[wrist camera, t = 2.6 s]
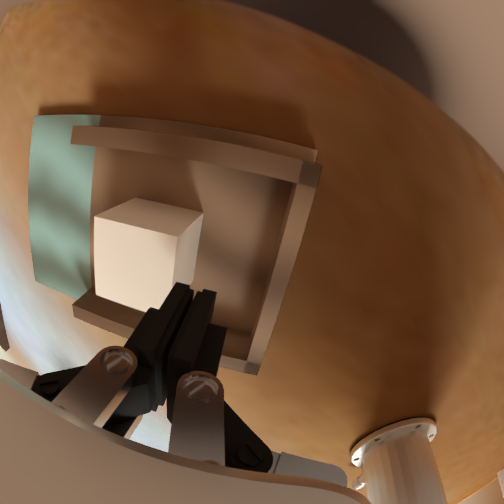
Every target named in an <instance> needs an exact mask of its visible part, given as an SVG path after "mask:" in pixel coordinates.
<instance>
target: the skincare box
mask: <svg viewBox="0 0 504 504" xmlns="http://www.w3.org/2000/svg"><path fill="white" fill-rule="evenodd" d="M497 476H498V479H499V483H500V486H501V490H502V494H503V498H504V468H503V469H501V470H500V471H499V472H498V473H497Z"/></svg>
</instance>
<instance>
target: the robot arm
mask: <svg viewBox="0 0 504 504" xmlns="http://www.w3.org/2000/svg"><path fill="white" fill-rule="evenodd" d="M216 295H217V292H215V291H211V290H207V289H203V291H202V292H200V291H197V293H196V295H195V297H194V299H193V296H194V290H193V289H190V285H187V284H184V283H180V282H176V283H175V285H174V286H173V288H172V289H171V291H170V292H169V294H168V296H167V297H166V299H165V300H164V302H163V304H162V305H161V307H160V308H159V309H156V308H152V307H150V308H149V309H148V310H147V312H146V313H145V315H144V316H143V318H142V319H141V321H140V322H139V324H138V325H137V327H136V328H135V330H134V331H133V333H132V335H131V336H130V338H129V339H128V341H127V342H126V344H125V345H124V347H122V346H109V347H106V348H104V349H102V350H101V351H100V352H99V353H98V354H97V355H96V356H95V357H94V358H93V359H92V360H91V361H90V362H89V363H88V364H87V365H85V366H80V367H76V368H71V369H66V370H62V371H57V372H51V373H47V374H44V375H41V376H40V375H39V374H38V372H36V371H33V370H30V369H27V368H24V367H21V366H18V365H16V364H13V363H10V362H8V361H5V360H2V359H0V504H447V500H446V496H445V492H444V488H443V485H442V481H441V477H440V474H439V470H438V467H437V464H436V460H435V457H434V454H433V451H432V448H431V445H430V442H431V441H432V439H433V438H434V437H435V434H436V432H437V427H436V424H435V422H434V421H433V420H431V419H429V418H412V419H407V420H403V421H400V422H397V423H393V424H391V425H388V426H386V427H383V428H381V429H379V430H377V431H375V432H373V433H371V434H370V435H368V436H366V437H365V438H363V439H362V440H361V441H359V442H358V443H357V444H356V445H355V446H354V447H353V449H352V450H351V453H350V458H351V462H352V463H353V464H354V465H356V466H358V467H362V473H361V476H360V477H358V478H357V479H355V480H354V481H353V482H352V487H353V488H354V489H360V488H362V487H363V486H365V485H366V488H367V496H368V499H367V498H366V497H365V496H363V495H362V494H360V493H358V492H356V491H354V490H352V489H350V488H347V476H346V474H345V472H344V471H343V470H342V469H341V468H340V467H338V466H335V465H332V464H327V463H323V462H319V461H314V460H310V459H306V458H303V457H299V456H295V455H292V454H288V453H285V452H281V454H280V453H276V452H273V451H271V450H270V449H269V448H268V446H267V445H266V444H265V443H264V442H263V441H262V440H261V439H260V438H259V437H258V436H257V435H256V434H255V433H254V432H253V431H252V430H251V429H250V428H249V427H248V426H247V425H246V424H245V423H244V422H243V421H242V420H241V418H240V417H239V416H238V415H237V414H236V413H235V412H234V411H233V410H232V409H231V407H230V406H229V405H228V404H227V403H226V402H225V401H224V389H223V385H222V383H221V382H220V380H219V379H218V378H216V376H217V372H218V367H219V363H220V359H221V355H222V350H223V346H224V342H225V337H226V333H227V328H228V327H223V326H219V325H215V324H211V322H212V317H213V311H214V306H215V300H216ZM166 398H167V418H168V420H169V421H170V422H171V424H172V425H171V433H170V442H169V451H168V453H167V452H164V451H161V450H158V449H155V448H151V447H149V446H146V445H143V444H140V443H137V442H134V441H132V440H129V438H130V437H131V435H132V433H133V432H134V430H135V429H136V427H137V426H138V424H139V423H140V421H141V419H142V417H143V414H146V413H149V412H150V411H151V410H152V411H155V412H156V410H157V407H158V405H161V406H163V405H164V403H165V400H166Z"/></svg>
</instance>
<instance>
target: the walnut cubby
mask: <svg viewBox="0 0 504 504" xmlns="http://www.w3.org/2000/svg"><path fill="white" fill-rule="evenodd" d="M317 153H318V150H315V149H311V148H308V147H304V146H300V145H297V144H293V143H289V142H285V141H281V140H277V139H272V138H268V137H264V136H259V135H254V134H250V133H245V132H240V131H235V130H229V129H224V128H218V127H212V126H206V125H200V124H193V123H186V122H179V121H171V120H162V119H152V118H141V117H128V116H111V115H39V116H34V122H33V129H32V138H31V148H30V161H29V184H28V205H29V229H30V242H31V252H32V261H33V268H34V275H35V281H37V282H39V283H41V284H43V285H45V286H47V287H50V288H52V289H54V290H56V291H58V292H61V293H63V294H65V295H68V296H70V297H72V298H75V299H77V301H76V302H75V303H74V304H72V306H73V312H74V317H76V318H78V319H81V320H83V321H85V322H87V323H90V324H92V325H95V326H97V327H99V328H102V329H104V330H107V331H109V332H112V333H115V334H117V335H120V336H122V337H125V338H128V339H129V338H130V336H131V335H132V333H133V331H134V330H135V328H136V327H137V325H138V324H139V322H140V321H141V319H142V318H143V316H144V315H145V313H146V312H143V311H140V310H137V309H134V308H131V307H128V306H126V305H123V304H120V303H117V302H114V301H111V300H109V299H106V298H103V297H100V296H98V295H96V289H95V271H94V216H96V215H98V214H100V213H102V212H104V211H107V210H109V209H111V208H113V207H115V206H118V205H120V204H122V203H125V202H127V201H129V200H131V199H134V198H140V199H144V200H149V201H154V202H158V203H163V204H168V205H172V206H177V207H181V208H186V209H190V210H195V211H199V212H203V213H204V214H203V220H202V226H201V232H200V238H199V244H198V250H197V257H196V263H195V270H194V277H193V281H192V283H191V284H190V289H193V290H194V296H193V299H194V297H195V295H196V293H197V291H200V292H202V291H203V289H207V290H211V291H215V292H217V295H216V300H215V306H214V311H213V317H212V322H211V324H215V325H219V326H223V327H228V328H227V333H226V337H225V342H224V346H223V350H222V355H221V359H220V363H219V367H222V368H227V369H231V370H235V371H239V372H244V373H248V374H253V375H257V374H258V371H259V368H260V365H261V363H262V360H263V357H264V354H265V351H266V349H267V346H268V343H269V340H270V337H271V334H272V331H273V328H274V325H275V322H276V319H277V316H278V313H279V310H280V307H281V304H282V301H283V298H284V295H285V292H286V289H287V286H288V283H289V280H290V276H291V273H292V270H293V267H294V264H295V260H296V257H297V254H298V250H299V247H300V244H301V240H302V237H303V234H304V230H305V227H306V224H307V220H308V217H309V213H310V210H311V206H312V202H313V199H314V195H315V192H316V188H317V184H318V181H319V177H320V173H321V169H322V166H321V165H319V164H316V163H315V161H316V157H317Z"/></svg>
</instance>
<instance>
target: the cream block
mask: <svg viewBox="0 0 504 504" xmlns="http://www.w3.org/2000/svg"><path fill="white" fill-rule="evenodd" d="M203 214H204V213H203V212H199V211H195V210H190V209H186V208H181V207H177V206H172V205H168V204H163V203H158V202H154V201H149V200H144V199H140V198H134V199H131V200H129V201H127V202H125V203H122V204H120V205H118V206H115V207H113V208H111V209H109V210H107V211H104V212H102V213H100V214H98V215H96V216H94V271H95V289H96V295H98V296H100V297H103V298H106V299H109V300H111V301H114V302H117V303H120V304H123V305H126V306H128V307H131V308H134V309H137V310H140V311H143V312H147V310H148V309H149V308H150V307H152V308H156V309H159V308H160V307H161V305H162V304H163V302H164V300H165V299H166V297H167V296H168V294H169V292H170V291H171V289H172V288H173V286H174V285H175V283H176V282H180V283H184V284H187V285H190V284H191V283H192V281H193V277H194V270H195V263H196V257H197V250H198V244H199V238H200V232H201V226H202V220H203Z"/></svg>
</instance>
